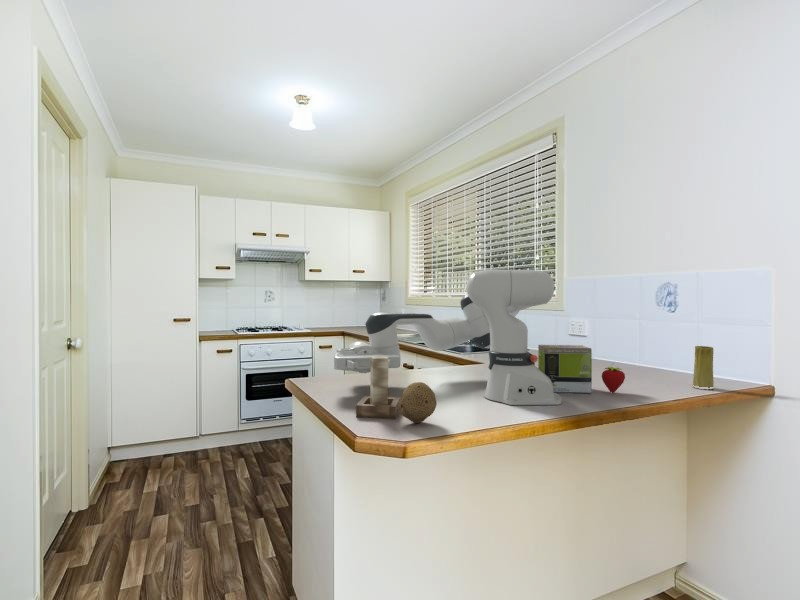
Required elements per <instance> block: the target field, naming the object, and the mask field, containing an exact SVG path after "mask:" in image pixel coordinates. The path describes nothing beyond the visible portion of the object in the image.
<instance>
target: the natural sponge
mask: <svg viewBox="0 0 800 600" xmlns="http://www.w3.org/2000/svg"><path fill="white" fill-rule="evenodd" d="M399 398H400V401H399V403H398V411H399V412H398V414H400V415H401V416H403V417H404V418H406V419H407V420H409V421H410V422H412V423H415V424H420V423H422V422H424V421H425V420H426V419H427V418H429V417H430V416H432V415H433V414H434V413H435V410H436V408H437V398H436V394H435V392H434V390H433V389H432V388H431V387H430V386H429V385H428V384H426V383H425V382H421V381H420V382H419V381H418V382H416V381H415V382H412V383H410V384H409V385H407V386H406V387H405V388H404V390H403V392H402V393H401V395H400V397H399Z"/></svg>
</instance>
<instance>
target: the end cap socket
mask: <svg viewBox="0 0 800 600" xmlns="http://www.w3.org/2000/svg"><path fill="white" fill-rule="evenodd" d="M400 398H401V397H396V396H395V397H393V396H391V397H389V396H388V405H373V404H370V395H369V396H367V395H365V396H363V397H362V398H361V399H360V400H359V401H358V403H356V407H355V418H365V417H368V418H369V419H370V418H371V419H387V418H389V420H390V419H392V420H395V419H396V418H397V416H398V414H399V412H398V403H399V401H400Z"/></svg>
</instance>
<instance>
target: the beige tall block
mask: <svg viewBox="0 0 800 600" xmlns="http://www.w3.org/2000/svg"><path fill="white" fill-rule="evenodd" d="M369 374H370V380H369V381H370V383H369V385H370V390H369V392H370V394H369V396H370V404H373V405H388V397H389V368H388V358H387V357H386V356H371V372H370V373H369Z"/></svg>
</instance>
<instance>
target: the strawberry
mask: <svg viewBox="0 0 800 600" xmlns="http://www.w3.org/2000/svg"><path fill="white" fill-rule="evenodd" d="M614 364H615V362H613V363H612V364H611V365H610V366H607V367H605V368H604V371H603V372H602V373H601V379H602V382H603V383H604V385H605V387H606V388H607V390H609V392H610V393H611V392H614V393H615V392H616V391H617V390H618V389H619V388H620V387H621V386H622V385H623V384H624V382H625V379H626V375H625V373H624V371H622V368H620V367H612V366H613V365H614Z"/></svg>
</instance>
